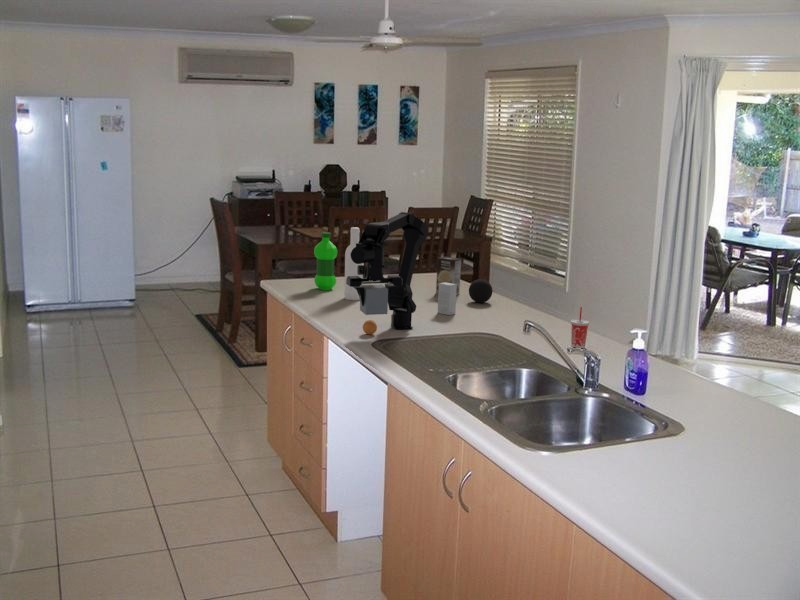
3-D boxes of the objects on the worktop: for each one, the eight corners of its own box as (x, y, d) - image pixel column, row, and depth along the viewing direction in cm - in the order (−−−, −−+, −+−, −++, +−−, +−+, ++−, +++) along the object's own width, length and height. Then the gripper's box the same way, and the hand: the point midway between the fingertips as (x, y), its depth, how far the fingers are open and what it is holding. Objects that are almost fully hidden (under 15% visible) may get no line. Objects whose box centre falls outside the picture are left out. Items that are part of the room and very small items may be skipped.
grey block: (381, 309, 300) (381, 284, 298) (387, 314, 292) (388, 288, 291) (359, 310, 297) (360, 285, 295) (365, 314, 290) (366, 289, 288)
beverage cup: (565, 345, 292) (568, 305, 290) (580, 344, 295) (583, 304, 292) (575, 349, 287) (578, 309, 284) (590, 348, 289) (594, 308, 286)
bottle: (366, 299, 359) (368, 228, 353) (350, 301, 354) (351, 229, 348) (356, 296, 365) (358, 226, 359) (340, 297, 361) (342, 227, 355)
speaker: (486, 299, 367) (487, 276, 365) (495, 304, 357) (497, 281, 355) (464, 300, 363) (465, 277, 361) (473, 305, 354) (474, 281, 352)
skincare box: (455, 314, 336) (457, 284, 334) (448, 315, 333) (450, 285, 331) (444, 311, 340) (445, 281, 338) (437, 312, 337) (438, 283, 335)
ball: (378, 325, 296) (377, 337, 298) (376, 317, 300) (374, 329, 302) (364, 325, 294) (363, 337, 297) (362, 317, 299) (361, 329, 301)
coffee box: (435, 293, 377) (436, 257, 373) (442, 291, 382) (443, 256, 379) (453, 296, 372) (454, 260, 369) (460, 294, 377) (461, 258, 374)
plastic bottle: (316, 286, 385) (316, 231, 380) (339, 287, 383) (340, 232, 378) (310, 290, 375) (311, 233, 370) (334, 291, 373) (335, 234, 368)
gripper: (394, 256, 301) (392, 299, 304) (342, 257, 295) (342, 301, 299) (403, 261, 291) (402, 306, 294) (350, 262, 285) (350, 308, 288)
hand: (374, 305), depth 294 cm, fingers closed on grey block, 8 cm apart
